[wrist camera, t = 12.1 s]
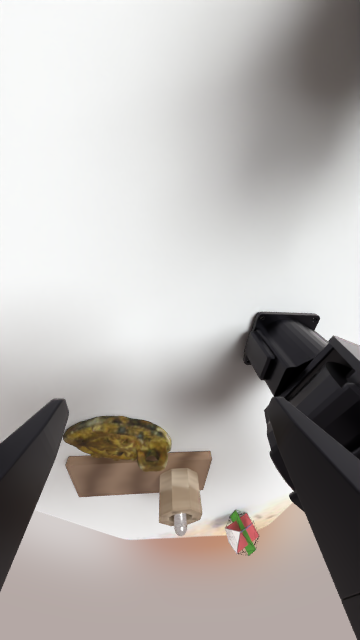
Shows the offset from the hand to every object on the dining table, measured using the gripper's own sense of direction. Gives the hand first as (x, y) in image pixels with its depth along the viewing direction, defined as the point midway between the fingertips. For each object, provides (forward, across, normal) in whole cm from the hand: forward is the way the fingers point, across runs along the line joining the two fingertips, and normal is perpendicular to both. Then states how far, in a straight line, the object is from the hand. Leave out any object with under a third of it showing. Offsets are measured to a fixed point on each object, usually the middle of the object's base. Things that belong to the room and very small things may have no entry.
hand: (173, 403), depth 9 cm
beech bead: (+10, -3, +32) cm, 34 cm away
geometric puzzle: (+11, -19, +55) cm, 59 cm away
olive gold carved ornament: (+12, +6, +22) cm, 25 cm away
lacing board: (+11, +3, +32) cm, 34 cm away
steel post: (+10, -3, +32) cm, 34 cm away
